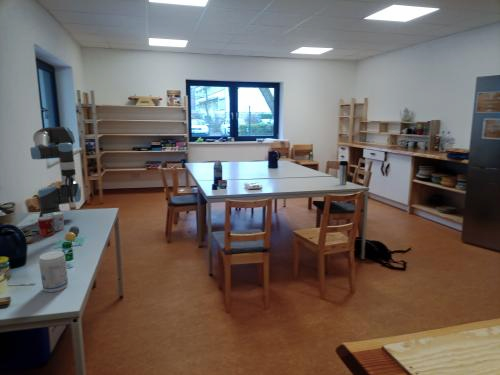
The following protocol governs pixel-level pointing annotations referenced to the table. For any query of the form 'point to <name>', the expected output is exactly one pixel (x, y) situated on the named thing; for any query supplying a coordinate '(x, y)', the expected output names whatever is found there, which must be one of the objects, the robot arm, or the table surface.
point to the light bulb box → (57, 220)
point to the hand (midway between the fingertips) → (72, 206)
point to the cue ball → (74, 230)
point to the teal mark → (77, 241)
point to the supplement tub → (53, 271)
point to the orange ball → (70, 236)
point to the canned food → (46, 226)
